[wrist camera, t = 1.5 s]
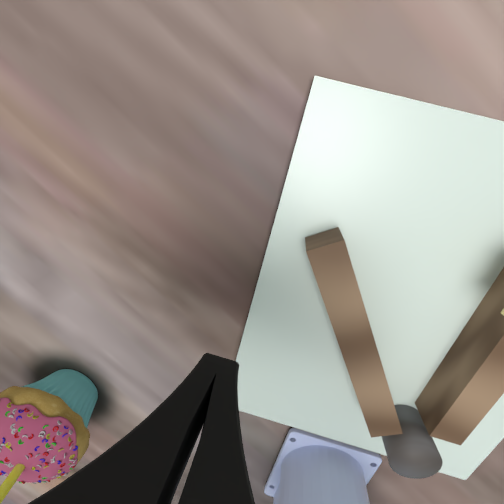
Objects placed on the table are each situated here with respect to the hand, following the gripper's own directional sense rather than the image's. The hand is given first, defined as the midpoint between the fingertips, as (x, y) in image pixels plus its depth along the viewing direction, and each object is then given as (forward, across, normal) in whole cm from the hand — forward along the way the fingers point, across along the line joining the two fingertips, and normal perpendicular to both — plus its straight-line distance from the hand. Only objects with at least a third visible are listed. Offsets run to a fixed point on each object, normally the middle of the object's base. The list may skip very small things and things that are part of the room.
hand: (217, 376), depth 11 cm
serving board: (+9, -10, 0) cm, 14 cm away
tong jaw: (+8, -7, +1) cm, 11 cm away
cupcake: (+10, +14, +17) cm, 24 cm away
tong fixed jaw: (+8, -14, +1) cm, 16 cm away
